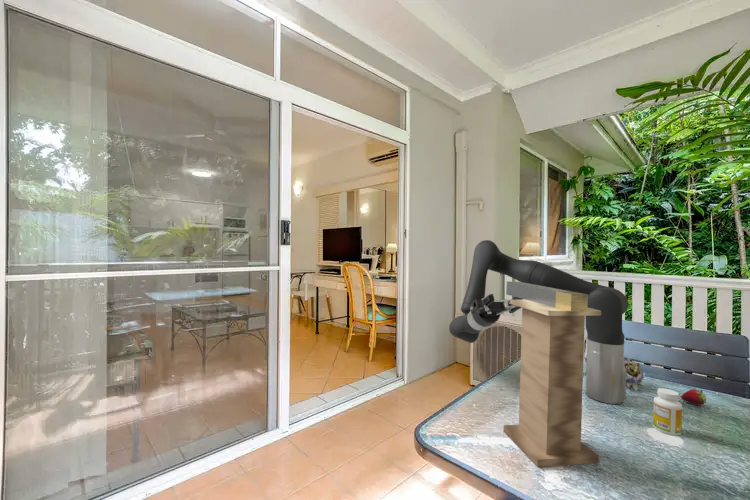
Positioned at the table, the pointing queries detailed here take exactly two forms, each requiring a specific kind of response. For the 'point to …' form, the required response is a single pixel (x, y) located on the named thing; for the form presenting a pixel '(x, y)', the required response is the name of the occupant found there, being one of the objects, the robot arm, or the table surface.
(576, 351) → the walnut stand
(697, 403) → the fruit
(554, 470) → the table surface
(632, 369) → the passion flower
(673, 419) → the supplement bottle
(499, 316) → the robot arm
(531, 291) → the steel block
